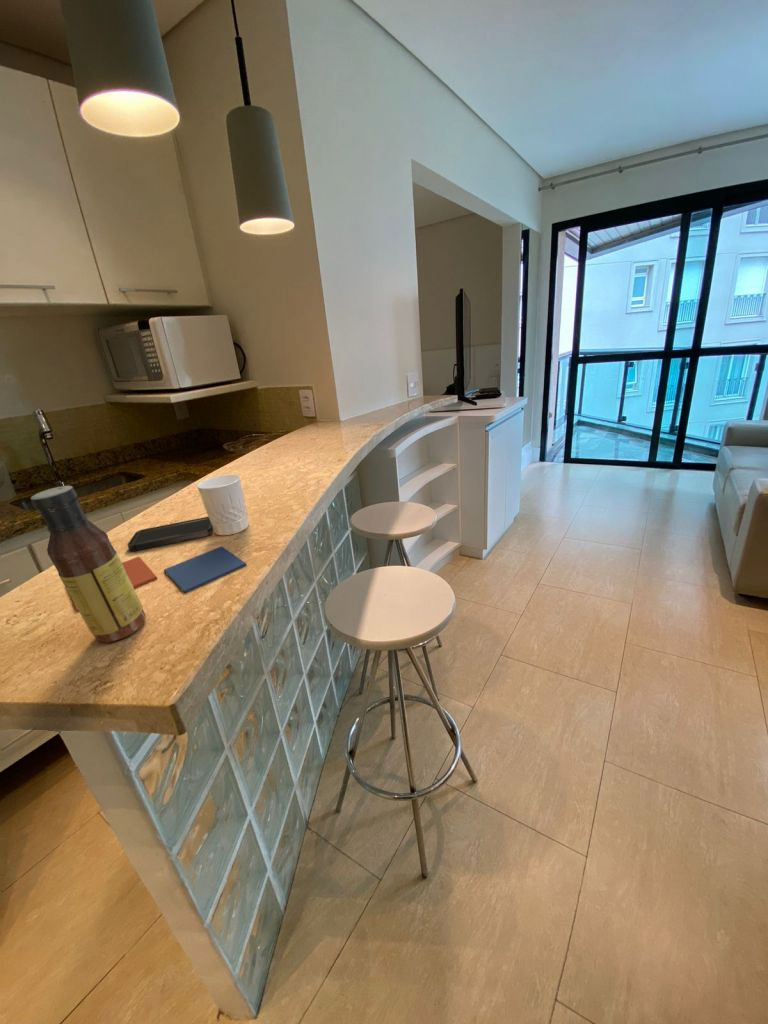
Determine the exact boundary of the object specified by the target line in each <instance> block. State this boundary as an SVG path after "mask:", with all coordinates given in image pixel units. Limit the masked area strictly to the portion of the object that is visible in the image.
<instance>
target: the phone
mask: <svg viewBox="0 0 768 1024" xmlns="http://www.w3.org/2000/svg"><path fill="white" fill-rule="evenodd" d="M213 532H214V529H213V526H212V524H211V521H210V520H209V517H208V516H204V517H200V518H195V519H194V518H193V519H189V520H184V521H178V522H174V523H169V524H163V525H158V526H153V527H148V528H143V529H140V530H137V531H136V532H135V533H134V535H133V536H131V537H132V538H131V539H130V540H129V542H128V543H127V548H128V550H129V552H136V551H141V550H145V549H146V550H147V549H150V548H154V547H159V546H164V545H170V544H175V543H179V542H184V541H189V540H194V539H199V538H203V537H208V536H210V535H213Z"/></svg>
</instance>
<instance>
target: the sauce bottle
mask: <svg viewBox="0 0 768 1024" xmlns="http://www.w3.org/2000/svg"><path fill="white" fill-rule="evenodd" d="M30 501H31V503H32V507H34V509H35V510H37V511H38V512H39V514H40V516H41V517H42V519H43V521H44V523H45V525H46V529H47V532H49V539H48V544H47V548H46V552H47V555H48V557H49V558H50V560H51V562H52V564H53V566H54V567H55V569H56V571H57V575H58V576H59V578H60V580H61V582H62V584H63V585H64V587H65V589H66V591H67V592H68V594H69V596H70V598H71V600H72V602H73V601H74V602H73V604H74V603H75V605H76V607H77V609H78V610H79V611H78V613H79V614H80V616H81V618H82V620H83V621H84V624H85V625H86V626H87V628H88V631H89V633H91V634H92V635H93V637H94V638H95V639H96V640H98V642H101V643H106V644H109V643H111V642H113V643H114V642H117V641H119V640H122V639H126V638H127V637H130V636H131V635H133V634H134V633H136V632H137V631H139V630H140V629H141V628H142V626H143V625H144V624H145V622H146V619H147V618H146V612H145V610H144V608H143V607H144V606H143V604H142V602H141V600H140V598H139V596H138V594H137V592H136V590H135V588H133V586H132V584H131V581H130V579H129V577H128V575H127V573H126V571H125V569H124V567H123V565H122V563H123V562H122V561H121V558H120V556H119V554H118V552H117V550H116V549H115V548H114V546H113V544H112V543H111V541H110V538H109V536H108V534H107V533H106V532H105V531H104V530H102V529H101V528H99V527H98V526H97V525H95V524H94V523H93V522H92V521H90V520H89V519H88V517H87V515H86V514H85V513H84V511H83V509H82V506H81V504H80V501H79V499H78V494H77V492H76V490H75V489H74V486H72V485H62V486H57V487H53V488H48V489H45V490H43V491H39V492H38V493H36V494H34V495H32V496H30ZM75 605H74V606H75ZM76 607H75V608H76Z"/></svg>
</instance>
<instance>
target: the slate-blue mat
mask: <svg viewBox="0 0 768 1024" xmlns="http://www.w3.org/2000/svg"><path fill="white" fill-rule="evenodd" d="M245 566H247V562H245V561H244V560H242V559H241V558H240V557H238V556H236V555H235V554H234V553H232V552H231V551H230V550H228V549H226V547H224V546H222V545H221V546H218V547H216V548H213V549H211V550H209V551H206V552H203V553H201V554H198V555H197V556H194V557H191V558H188V559H187V560H184V561H182V562H179V563H176V564H174V565H172V566H169V567H166V568H164V569H163V571H164V573H165V574H166V575H167V576H168V577H169V578H170V579H171V580H172V581H173V583H174V584H175V585H176V586H177V587H178V588H179V589H180V590H181V591H182V592H183V593H184V594H186V593H189V592H191V591H193V590H195V589H197V588H200V587H201V586H203V585H206V584H208V583H210V582H212V581H215V580H216V579H219V578H221V577H224V576H226V575H228V574H231V573H233V572H235V571H237V570H240V569H242V568H244V567H245Z"/></svg>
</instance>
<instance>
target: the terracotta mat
mask: <svg viewBox="0 0 768 1024" xmlns="http://www.w3.org/2000/svg"><path fill="white" fill-rule="evenodd" d="M121 563H122V565H123V567H124V569H125V571H126V573H127V575H128V577H129V579H130V581H131V584H132V586H133V588H134V589H136V588H138V587H140V586H143V585H145V584H147V583H150V582H152V581H155V580H157V579H158V576H157V575H156V574H155V573H154V572H153V570H152V569H151V568H150V567H149V566H148V565H147V564H146V562H145V561H144V560H143V559H142V558H141V557H140V556H136V557H134V558H131V559H129V560H125V561H122V562H121ZM72 602H73V605H74V607H75V609H76V612H77V613H79V610H78V609H77V607H76V605H75V603H74V601H73V600H72Z"/></svg>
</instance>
